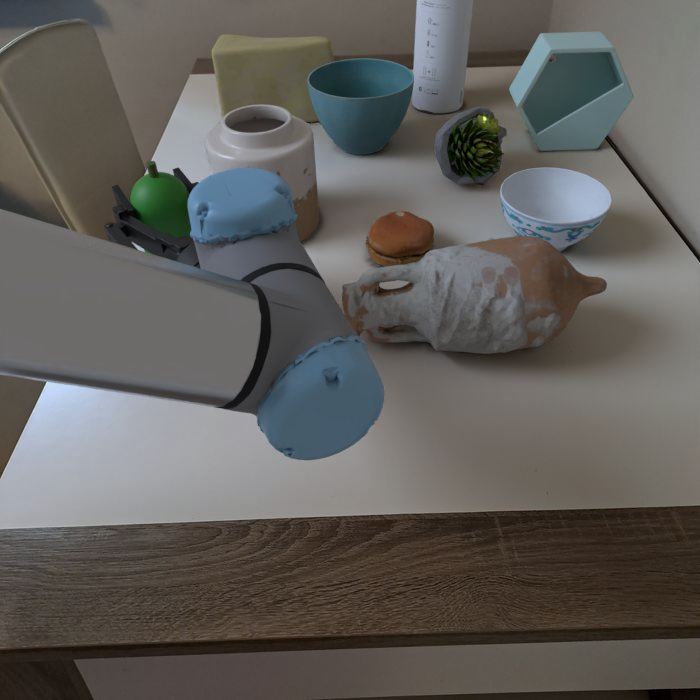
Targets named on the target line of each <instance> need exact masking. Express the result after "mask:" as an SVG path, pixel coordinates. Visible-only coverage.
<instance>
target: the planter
mask: <svg viewBox="0 0 700 700" xmlns="http://www.w3.org/2000/svg"><path fill="white" fill-rule="evenodd" d="M617 52H618V51H617V49H616V48H615V46H614V45H613V44H612V42H611V41H610V40H609V39H608V38H607V37H606V35H605V34H604V33H603V32H602V31H598V30H597V31H568V32H564V31H563V32H541V33H539V35H538V36H537V38H536V40H535V42H534V44H533V45H532V47H531V49H530V50H529V52H528V54H527V56H526V57H525V60H524V62H523V63H522V65H521V67H520V69H518V72H517V74H516V76H515V77H514V79H513V81H512V83H511V85H510V86H509V88H508V91H509V93H510V95H511V97H512V100H513V102H514V104H515V107H516V109H517V111H518V112H519V114H520V116H521V118H522V120H523V122H524V125H526V127H527V129H528V132H529V133H530V135H531V137H532V139H533V141H534V142H535V145H536V146H537V148H538V150H539V151H541V152H547V151H548V152H549V151H550V152H551V151H586V150H589V151H590V150H597V149H599V148H600V146H601V145H602V143H603V142H604V141H605V138H607V136H608V134H609V133H610V132H611V130H612V129H613V127H614V126H615V125H616V124H617V122H618V121H619V120H620V118H621V117H622V115H623V114H624V112H625V111H626V109H627V108H628V106H629V105H630V103H631V102H632V100H633V99H634V98H635V96H634V93H633V90H632V87H631V85H630V82H629V79H628V78H627V75H626V73H625V70H624V67H623V65H622V62H621V60H620V58H619V55H618V53H617ZM552 56H555V59H554V60H552V61H550V59H551V57H552Z"/></svg>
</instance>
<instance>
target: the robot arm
mask: <svg viewBox="0 0 700 700" xmlns="http://www.w3.org/2000/svg"><path fill="white" fill-rule="evenodd" d="M172 173H173V175H174V176H175V177H177V178H178V179H179V180H181V181H182V182H183V183H184V185H185V186H186V188H187V189H188V191H189V194H190V195H189V198H188V213H189V218H190V224H191V232H190V235H187V236H182V237H178V238H177V237H175V236H173V235H171V234H169V233H168V232H165V233H161V232H159V231H158V230H156V229H154V228H152V227H150V226H148V225H147V224H145V223H143V222H141V221H139V220H138V219H137V217H136V213H135V210H134V208H133V207H132V205H131V203H130V200H129V199H128V198H127V196H126V194H125V193H124V191H123V190H122V189H121V187H120V185H119V184H115V185H112V186H111V190H112V192H113V196H114V199H115V202H116V205H115V206H112V209H111V210H112V213H113V216H114V220H115V222H113V221H111V222H106V223H105V224H104V225H103V228H104V230H105V234H106V237H107V239H108V240H106V239H103V238H99V237H96V236H94V235H90V234H86V233H82V232H79V231H76V230H72V229H69V228H67V227H62V226H61V225H60V226H59V225H56V224H53V223H49V222H46V221H43V220H39V219H36V218H33V217H29V216H26V215H23V214H19V213H17V212H12V211H9V210H6V209H2V208H0V375H1V376H6V377H14V378H19V379H27V380H33V381H39V382H45V383H52V384H59V385H65V386H72V387H78V388H79V387H80V388H85V389H91V390H98V391H104V392H111V393H118V394H124V395H132V396H137V397H145V398H151V399H157V400H165V401H170V402H176V403H177V402H178V403H185V404H190V405H196V406H202V407H210V408H214V409H215V408H216V409H222V410H226V411H232V412H238V413H244V414H251V415H254V416H255V417H256V423H257V427H259V430H260V431H261V433H263V434H264V436H265V438H266V439H267V441H268V443H269V444H270V445H271V446H272V447H273V449H275V450H276V451H277V452H279V453H280V454H283V455H284V457H287V458H288V459H293V460H297V461H298V460H299V461H316V460H321V459H326V458H328V457H331V456H334V455H337V454H340V453H342V452H343V451H346V450H347V449H349V448H351V447H353V445H356V444H357V443H358V442H359V441H361V440H362V439H363V438H364V437H365V436H366V435H367V434H368V432H369V430H370V429H371V427H372V426H374V425H375V423H376V422H377V421H378V420H379V417H380V416H381V413H382V410H383V407H384V403H385V387H384V383H383V380H382V378H381V376H380V374H379V372H378V370H377V368H376V366H375V363H374V362H373V360H372V358H371V356H370V354H369V348H368V346H367V344H366V342H365V341H364V340H363V338H361V337H358V335H357V334H356V332H355V330H354V329H353V327H352V326H351V324H350V322H349V321H348V319H347V318H346V316H345V313H344V310H342V308H341V307H340V305H339V303H338V301H337V300H336V298H335V297H334V295H333V294H332V292H331V290H330V289H329V288H328V286H327V284H326V282H325V280H324V278H323V276H322V275H321V273H320V272H319V270H318V269H317V267H316V265H315V263H314V262H313V260H312V258H311V257H310V255H309V254H308V252H307V250H306V248H305V247H304V245H303V243H302V241H301V242H300V240H299V238H298V234H297V230H296V219H297V212H296V211H295V210H294V205H293V200H292V194H291V190H290V187H289V186H288V184H287V182H286V181H285V180H284V179H283V178H281V177H280V176H279V175H277V174H275V173H273V172H270V171H267V170H263V169H257V168H236V169H231V170H226V171H222V172H218V173H215V174H213V175H211V176H210V175H209V176H206V177H205V178H203V179H202V180H201V181H200V182H199V181H195V182H191V180H190V179H189V178H188V177H187V176H186V174H185V173H184V171H182V170H181V169H180V168H179V167H176V168H172ZM135 245H136V246H138V247H140V248H141V249H143V250H139V249H138V248H137V247H136V246H135ZM144 249H145V250H146V251H148V252H150V253H152V254H150V253H146V252H145V251H144Z"/></svg>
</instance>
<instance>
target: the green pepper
mask: <svg viewBox="0 0 700 700" xmlns="http://www.w3.org/2000/svg"><path fill="white" fill-rule="evenodd" d="M145 166H146V168H147V172H148V173H147V174H145V175H143V176H142V177H140V178H138V180H137V181H136V182H135V184H134V185H133V187H132V189H131V193H130V197H129V198H130V199H129V202H130V204H131V205H132V207H133V208H134V210H135V213H136V217H137V219H138V220H139V221H141V222H143V223H145V224H147V225H148V226H150V227H152V228H154V229H156V230H158V231H159V232H161V233H165V232H168V233H169V234H171V235H173V236H175V237H177V238H178V237H182V236H187V235H190V232H191V224H190V218H189V213H188V198H189V195H190V194H189V191H188V189H187V188H186V186H185V185H184V183H183V182H182V181H181V180H179V179H178V178H177V177H175V176H174V174H171V173H169V172H164V171H158V166H157V163H156V161H154V160H149V161H147V162H146V163H145ZM143 252H146V253H150V252H148V251H146V250H145V249H143ZM150 254H152V253H150Z"/></svg>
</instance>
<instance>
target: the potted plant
mask: <svg viewBox="0 0 700 700" xmlns="http://www.w3.org/2000/svg"><path fill="white" fill-rule="evenodd" d="M499 124H500V123H499V119H498V118H496V117H495V114H494V112H493V111H491V109H489V107H483V106H475V107H472V108H469V109H467V110H463V111H460V112H459V113H457V114H455V115H454V116H453V117H451V118H450V119H448V120H447V121H445V123H443V125H442V126H441V128H440V129H438V130H437V131H436V133H435V139H434V146H433V149H434V152H435V153H434V155H435V159H436V161H437V164H438V166H439V169H440V171H441V174H442V176H444V177H445V178H447V179H448V180H450V181H451V182H453V183H454V184H456V185H465V184H476V185H480V186H484V185H485V184H486V183H488V182H489V181H490V180H491V179H492V178H494V177H495V176H496V175H497V174H498V172H500V170H501V168H502V161H503V155H505V153H504V152H503V150H502V145H501V144H503V139H504V138H505V137H507V136H508V133H507V129H506V128H505V127H503V126H500V125H499Z"/></svg>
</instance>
